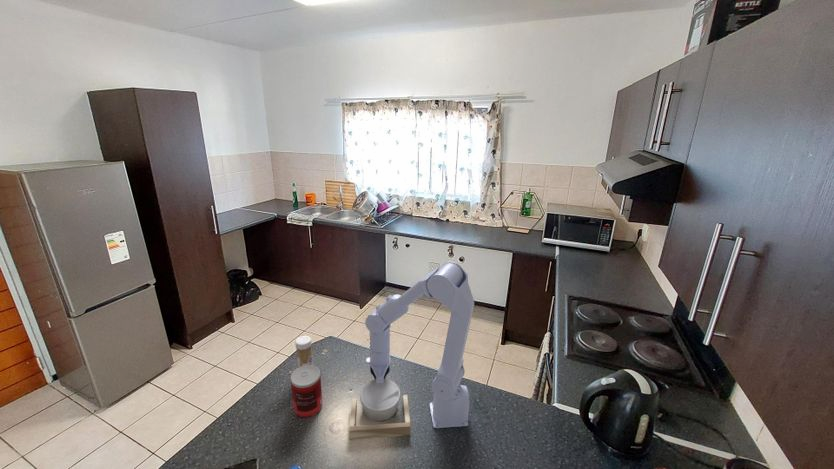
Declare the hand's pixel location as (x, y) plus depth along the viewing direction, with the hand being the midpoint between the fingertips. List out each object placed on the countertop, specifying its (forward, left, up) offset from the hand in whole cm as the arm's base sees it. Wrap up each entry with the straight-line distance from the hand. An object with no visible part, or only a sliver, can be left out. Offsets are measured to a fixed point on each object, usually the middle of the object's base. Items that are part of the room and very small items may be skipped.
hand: (380, 384), depth 97 cm
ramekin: (0, +7, -2) cm, 7 cm away
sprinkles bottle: (+23, -7, -2) cm, 24 cm away
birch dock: (0, +11, -1) cm, 11 cm away
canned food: (+20, +5, -2) cm, 21 cm away
